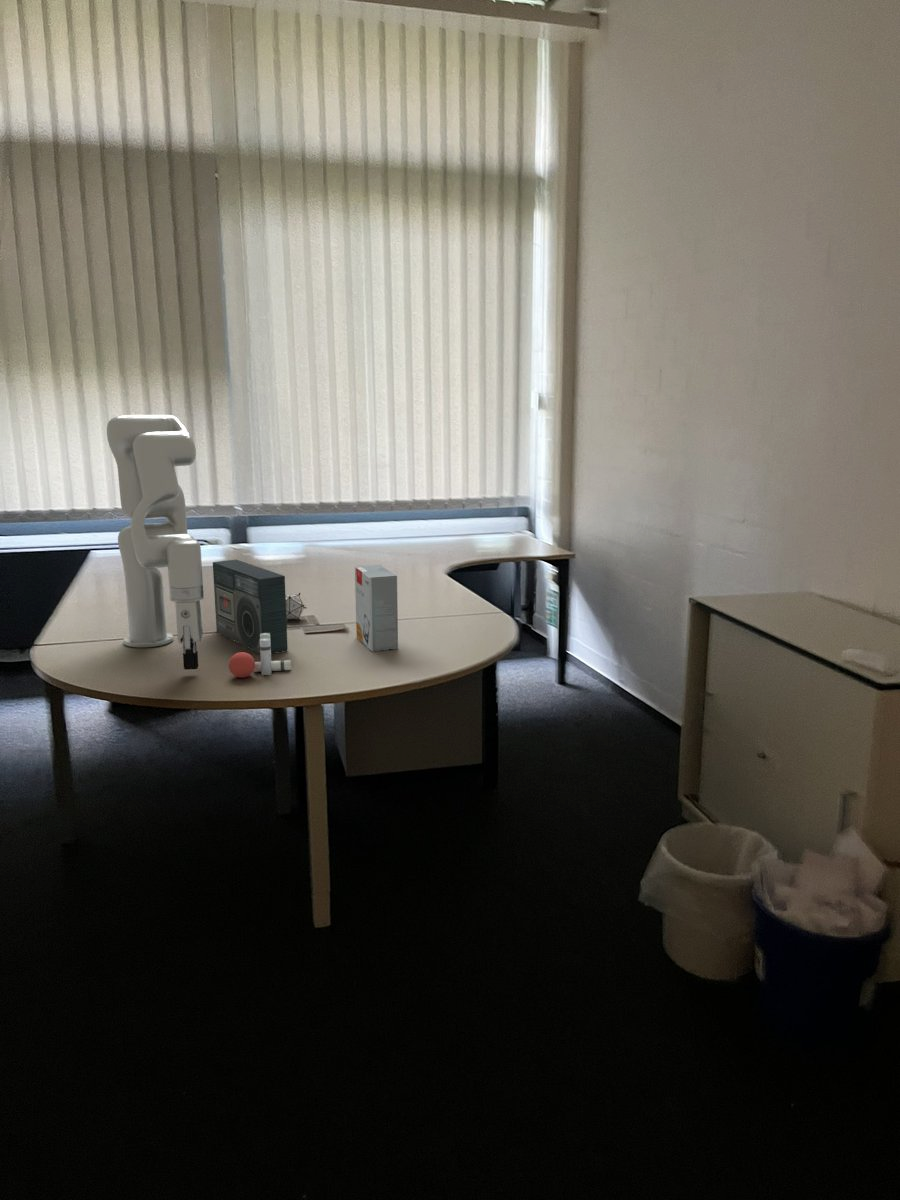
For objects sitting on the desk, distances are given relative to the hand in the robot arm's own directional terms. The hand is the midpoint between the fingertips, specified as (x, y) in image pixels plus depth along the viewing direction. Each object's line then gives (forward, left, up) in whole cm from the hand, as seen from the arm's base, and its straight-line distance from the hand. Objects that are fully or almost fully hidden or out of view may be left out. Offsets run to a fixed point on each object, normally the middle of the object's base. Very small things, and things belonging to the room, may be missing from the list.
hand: (191, 668), depth 211 cm
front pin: (+6, +14, 0) cm, 15 cm away
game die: (-37, +41, -2) cm, 55 cm away
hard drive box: (-1, +50, -2) cm, 50 cm away
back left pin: (+4, +17, -2) cm, 18 cm away
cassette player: (-21, +23, -2) cm, 31 cm away
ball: (+8, +10, +1) cm, 13 cm away
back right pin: (+9, +15, -2) cm, 18 cm away
